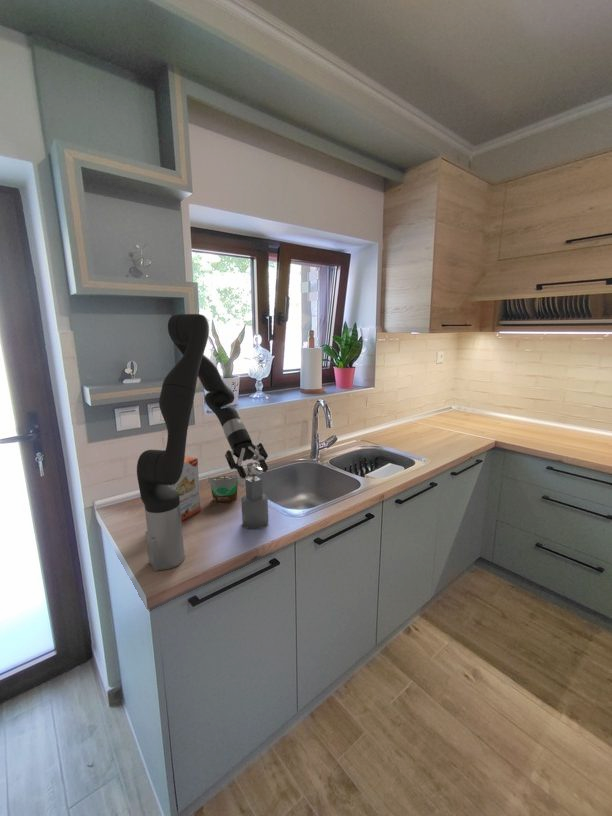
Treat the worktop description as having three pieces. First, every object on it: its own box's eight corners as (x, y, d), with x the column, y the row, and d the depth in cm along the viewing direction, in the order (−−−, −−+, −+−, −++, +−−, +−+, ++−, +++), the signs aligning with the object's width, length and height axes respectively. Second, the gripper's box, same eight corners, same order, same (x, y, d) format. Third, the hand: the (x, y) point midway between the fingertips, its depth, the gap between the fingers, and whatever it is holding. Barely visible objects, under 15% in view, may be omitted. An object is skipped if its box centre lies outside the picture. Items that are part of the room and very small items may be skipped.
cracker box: (172, 528, 124) (166, 469, 120) (160, 523, 127) (154, 466, 123) (202, 510, 136) (198, 457, 132) (190, 507, 139) (186, 455, 135)
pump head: (257, 505, 120) (256, 470, 117) (246, 498, 125) (244, 464, 123) (267, 501, 122) (266, 467, 120) (256, 494, 128) (254, 461, 125)
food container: (209, 507, 139) (208, 482, 137) (209, 500, 144) (207, 476, 143) (242, 502, 142) (241, 478, 140) (240, 496, 148) (239, 472, 146)
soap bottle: (251, 532, 120) (249, 486, 117) (237, 521, 127) (235, 478, 124) (273, 523, 126) (272, 479, 123) (259, 513, 133) (257, 472, 130)
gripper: (221, 432, 121) (240, 474, 115) (257, 425, 130) (277, 463, 124) (215, 443, 127) (233, 485, 120) (250, 436, 135) (269, 474, 129)
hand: (255, 474), depth 122 cm, fingers open, 8 cm apart
